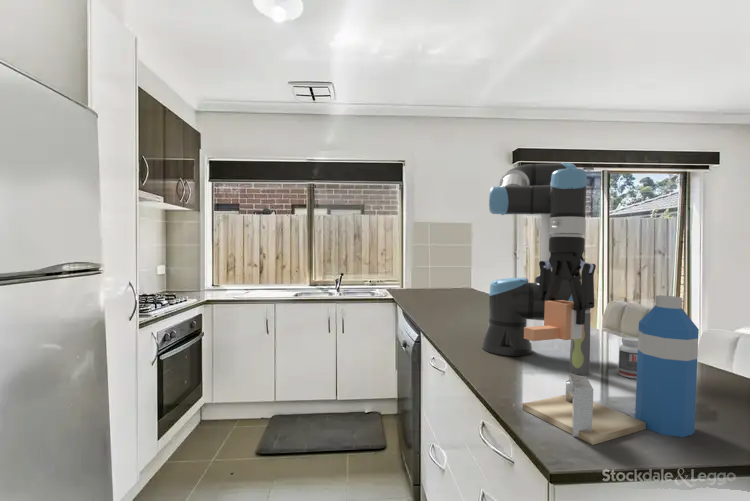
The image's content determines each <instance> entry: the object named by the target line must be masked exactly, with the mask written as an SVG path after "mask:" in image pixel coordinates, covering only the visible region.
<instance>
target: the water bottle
mask: <svg viewBox="0 0 750 501" xmlns="http://www.w3.org/2000/svg"><path fill="white" fill-rule="evenodd" d="M654 302H655V305H654V306H653V307H652V308H651V309H650V310H649V311H648V312H647V313H646V314H645V315H644V316H643V317H642V319H640V320H639V321H638V335H637V338H638V357H637V379H636V386H635V411H634V414H635V415H634V418H635V419H638V420H640V421H643V422H645V423H646V429H647V430H650V431H652V432H654V433H657V434H659V435H664V436H669V437H671V436H673V437H677V436H678V438H679V436H680V438H686V437H689V436H691V434H692V435H694V434H695V424H696V422H695V421H696V401H697V400H696V399H697V398H696V397H697V378H698V377H697V376H698V375H697V374H698V356H699V350H698V349H699V330H700V329H699V328H698V327H697V325H696V324H695V322H694V321H693V320H692V319H691V318H690V317H689V315H688V314H687V313H686V312H685V310H684V308H683V297H682V296H681V297H680V296H676V295H675V296H672V295H661V294H660V295H655V301H654ZM693 433H694V434H693ZM688 435H689V436H688ZM685 436H686V437H685Z"/></svg>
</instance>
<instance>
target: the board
mask: <svg viewBox="0 0 750 501" xmlns="http://www.w3.org/2000/svg"><path fill="white" fill-rule="evenodd" d="M565 398H566V394H561V395H557V396H554V397H548V398H544V399H539V400H533V401H529V402H525V403H524V402H523V403H522V410H523V411H525V412H526V413H527V412H528V413H530V414H531V415H533V416H535V417H537V418H539V419H540V420H543V421H545V422H547V423H549V424H551V425H553V426H554V427H557V428H559V429H561V430H563V431H565V432H566V433H569V434H570V435H572V403H570V402H567V401H566V400H565ZM646 429H647V428H646V423H645V422H643V421H640V420H638V419H635V417H633V416H630V415H627V414H624V413H623V412H620V411H617V410H615V409H613V408H610V407H607V406H606V405H602V404H600V403H598V402H595V401H593V414H592V433H589V432H582V431H579V437H577V438H578V439H580V440H582V441H585V442H586V443H588V444H590V445H592V446H595V445H597V444H600V443H604V442H608V441H610V440H614V439H617V438H620V437H624V436H627V435H630V434H634V433H637V432H642V431H644V430H646Z"/></svg>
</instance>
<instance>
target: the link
mask: <svg viewBox="0 0 750 501" xmlns="http://www.w3.org/2000/svg"><path fill="white" fill-rule="evenodd" d="M573 308H575V306H574V302H571V301H564V300H556V301H545V311H544V321H543V325H539V326H538V325H537V326H526V327H524V339H528V340H529V341H532V342H536V341H537V342H540V341H549V340H563V341H571V340H572V339H571V310H573ZM582 338H584V325H582ZM582 338H581V339H582Z"/></svg>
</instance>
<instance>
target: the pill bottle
mask: <svg viewBox="0 0 750 501" xmlns="http://www.w3.org/2000/svg"><path fill="white" fill-rule="evenodd" d="M621 343H622V344H621V345H620V346H619V348H618V368H617V372H618V374H619V376H622V377H624V378H629V379H635V380H637V357H638V337H633V336H622V337H621Z"/></svg>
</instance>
